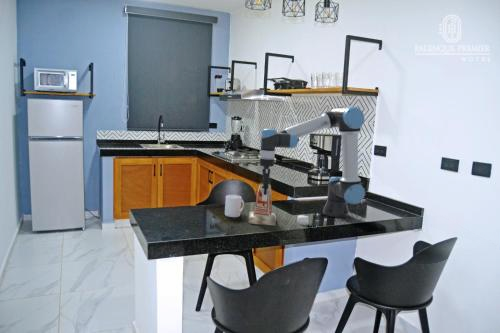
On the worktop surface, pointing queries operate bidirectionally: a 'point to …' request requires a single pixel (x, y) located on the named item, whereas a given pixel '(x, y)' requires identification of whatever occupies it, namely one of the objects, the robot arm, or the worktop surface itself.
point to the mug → (233, 205)
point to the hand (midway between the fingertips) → (264, 198)
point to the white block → (302, 220)
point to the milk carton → (263, 203)
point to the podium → (262, 219)
